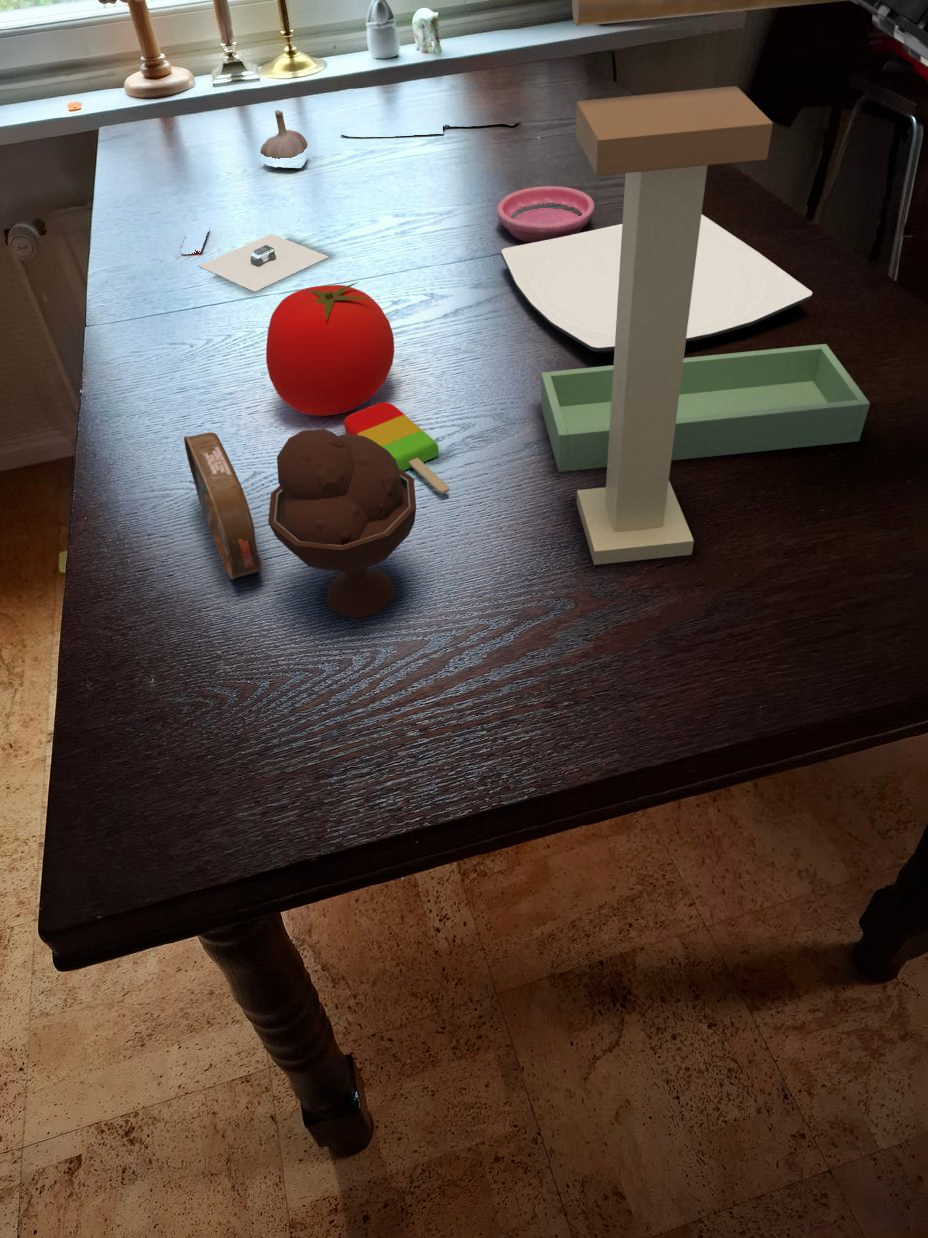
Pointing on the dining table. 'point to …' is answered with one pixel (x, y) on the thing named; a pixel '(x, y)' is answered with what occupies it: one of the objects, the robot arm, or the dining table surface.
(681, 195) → the stand
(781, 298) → the plate
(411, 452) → the popsicle
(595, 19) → the wooden rod
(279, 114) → the garlic bulb
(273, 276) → the beige placemat
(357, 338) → the tomato
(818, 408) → the tray
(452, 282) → the dining table surface
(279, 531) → the ice cream bowl
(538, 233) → the saucer
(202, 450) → the tin
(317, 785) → the dining table surface
